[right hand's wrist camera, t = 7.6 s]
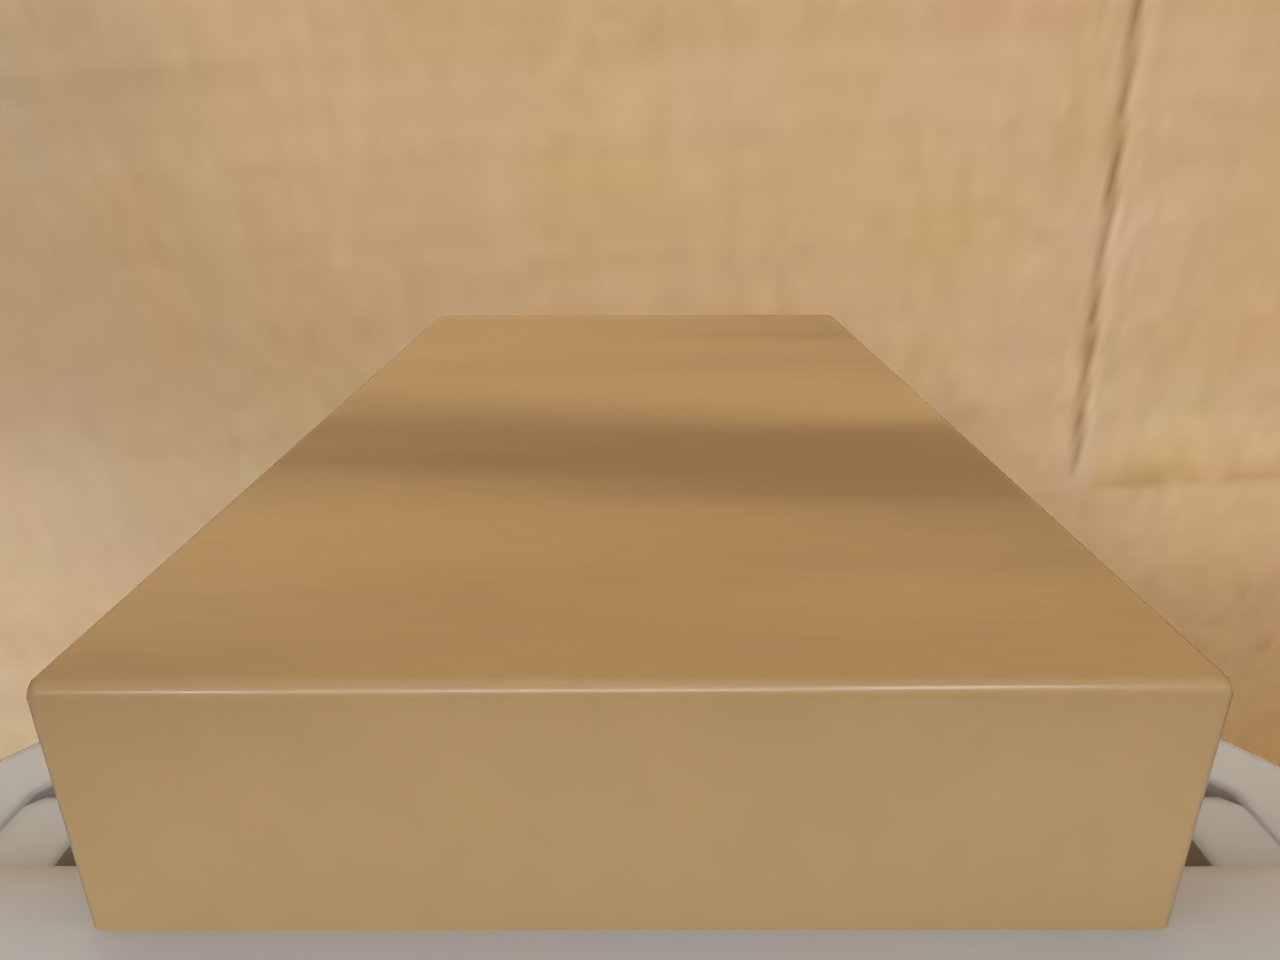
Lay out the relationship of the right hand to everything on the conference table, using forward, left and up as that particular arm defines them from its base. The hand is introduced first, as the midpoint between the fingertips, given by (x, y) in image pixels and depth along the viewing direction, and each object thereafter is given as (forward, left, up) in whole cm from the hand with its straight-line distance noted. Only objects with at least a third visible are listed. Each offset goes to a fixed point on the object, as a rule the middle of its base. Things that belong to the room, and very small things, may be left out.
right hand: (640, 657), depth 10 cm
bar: (+5, +9, -4) cm, 10 cm away
